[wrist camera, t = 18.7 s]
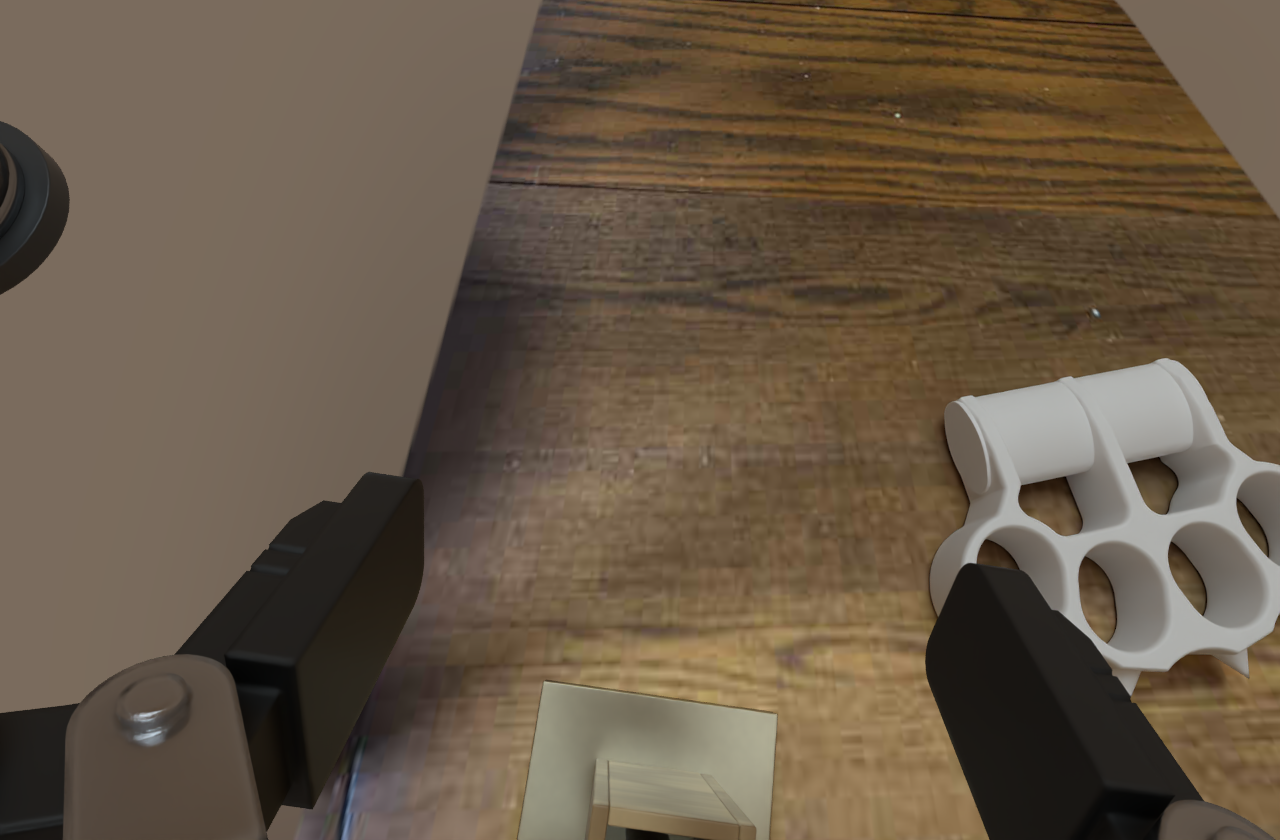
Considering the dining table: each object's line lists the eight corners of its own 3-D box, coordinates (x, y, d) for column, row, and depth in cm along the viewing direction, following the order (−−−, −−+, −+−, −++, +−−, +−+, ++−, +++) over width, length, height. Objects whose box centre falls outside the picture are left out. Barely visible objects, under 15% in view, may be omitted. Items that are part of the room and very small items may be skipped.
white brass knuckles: (1194, 363, 37) (1331, 649, 33) (873, 425, 35) (974, 737, 31) (1250, 336, 34) (1409, 649, 30) (900, 403, 32) (1016, 748, 28)
